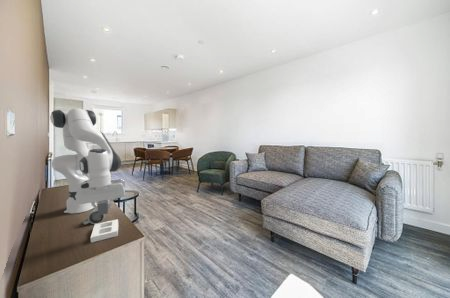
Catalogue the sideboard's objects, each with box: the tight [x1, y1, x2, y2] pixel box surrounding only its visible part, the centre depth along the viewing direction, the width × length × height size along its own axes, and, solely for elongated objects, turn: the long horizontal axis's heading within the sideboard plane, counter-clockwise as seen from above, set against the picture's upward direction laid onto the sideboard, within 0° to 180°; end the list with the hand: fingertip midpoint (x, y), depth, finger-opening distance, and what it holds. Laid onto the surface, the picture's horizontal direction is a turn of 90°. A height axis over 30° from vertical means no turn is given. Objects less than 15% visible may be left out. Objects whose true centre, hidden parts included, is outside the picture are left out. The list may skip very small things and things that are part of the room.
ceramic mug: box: [82, 208, 105, 226], centre depth 110 cm, size 11×8×8 cm
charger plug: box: [97, 200, 109, 216], centre depth 93 cm, size 4×4×6 cm
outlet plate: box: [90, 219, 119, 243], centre depth 97 cm, size 16×11×2 cm
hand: (103, 209), depth 93 cm, fingers closed on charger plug, 4 cm apart
